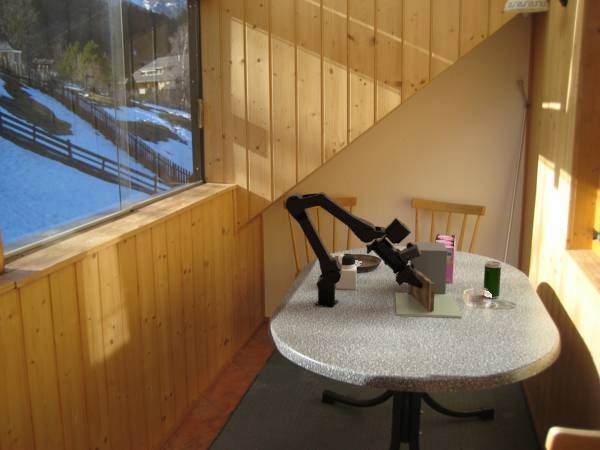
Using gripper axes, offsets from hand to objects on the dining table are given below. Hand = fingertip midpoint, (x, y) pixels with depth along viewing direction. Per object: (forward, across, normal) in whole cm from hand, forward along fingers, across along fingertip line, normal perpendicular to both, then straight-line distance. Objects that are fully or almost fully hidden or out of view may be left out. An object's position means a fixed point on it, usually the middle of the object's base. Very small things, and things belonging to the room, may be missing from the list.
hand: (421, 287), depth 207 cm
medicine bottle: (-13, +20, +23) cm, 33 cm away
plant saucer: (-11, +48, +22) cm, 53 cm away
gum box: (+13, +40, -2) cm, 42 cm away
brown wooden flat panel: (+4, +2, +4) cm, 6 cm away
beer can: (+22, +14, -12) cm, 29 cm away
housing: (+6, +8, +3) cm, 11 cm away
